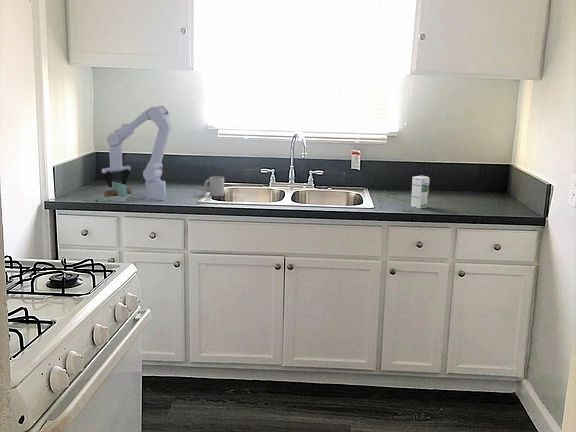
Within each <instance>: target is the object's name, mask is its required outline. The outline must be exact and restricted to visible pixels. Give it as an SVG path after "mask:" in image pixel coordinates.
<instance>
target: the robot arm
mask: <svg viewBox="0 0 576 432" xmlns="http://www.w3.org/2000/svg"><path fill="white" fill-rule="evenodd" d="M169 116H170V112H169V111H168V109H167V108H166V107H165V106H164V105H157V106H150V107H149V108H148V109H147V108H146V110H144V111H143V112H141V114H139V115H137V117H136V118H135V119H134V120H132V121H131V122H130V123H128V122H126V123H122V124H121V126H119V128H118V129H115V130H114V131H113V133H112V132H111V133H109V134H108V135H107V137H106V141H107V144H108V145H109V149H108V150H109V167H105V168H101V174H102V175H103V176H104V179H105V181H106V184H107V188H108V187H110V188H112V182H113V173H114V172H119V173H120V177H121V184H124V185H127V182H128V178H129V176H130V174H131V165H123V151H122V149H123V148H122V144H123V143H124V141H125V140H126V139H128V138H129V137H131V136H132V135H133V134H134V132H135V129H136V128H138V127H140V126H141V125H143V124H144V123H146V122H147V121H150V120H151V121H152V122H153V123H155V125H156V127H157V128H158V129H157V133H156V138H155V141H154V145H153V148H152V152H151V156H150V160H149V161H148V162H147V164H146V167H145V169H144V170H143V172H142V177H143V179H144V181H145V183H144V185H145V197H146V198H147V199H146V200H150V199H157V200H158V201H165V200H166V198H167V188H166V187H167V186H166V185H167V183H166V181H165V180H162V179H161V177H162V175H163V162H162V161H163V157H164V154H165V151H166V148H167V147H166V146H167V143H168V139H169V136H170V132H171V127H172V125H171V121H170V117H169Z"/></svg>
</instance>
